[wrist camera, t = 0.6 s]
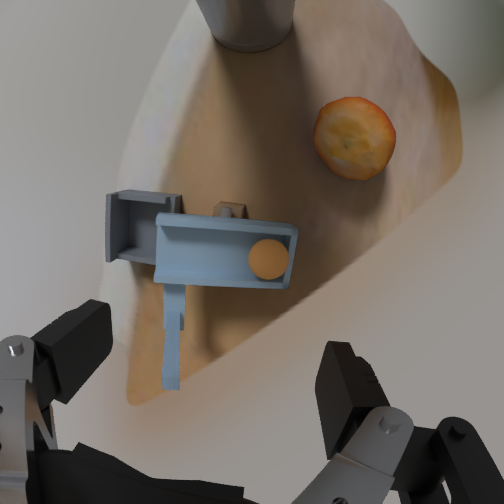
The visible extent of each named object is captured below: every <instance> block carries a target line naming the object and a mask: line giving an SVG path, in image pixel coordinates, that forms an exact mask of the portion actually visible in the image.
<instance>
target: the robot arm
mask: <svg viewBox="0 0 504 504" xmlns="http://www.w3.org/2000/svg"><path fill="white" fill-rule="evenodd" d="M196 1H197V3H198V5H199V7H200V9H201V11H202V13H203V15H204V18H205V20H206V22H207V24H208V26H209V28H210V30H211V32H212V34H213V36H214V37H215V39H216V40H217V41H219V42H220V43H221V44H222V45H224V46H226V47H227V48H230V49H232V50H235V51H241V52H258V51H263V50H266V49H269V48H272V47H273V46H275V45H277V44H279V43H280V42H281V41H282V40H283V39H284V38H285V37H286V36H287V34H288V33H289V31H290V28H291V25H292V18H293V11H294V6H295V0H196ZM112 345H113V335H112V321H111V308H110V305H109V304H108V303H104V302H100V301H96V300H92V299H90V300H88V301H87V302H85V303H84V304H83V305H81V306H80V307H78V308H77V309H73V310H71V311H68V312H66V313H64V314H63V315H61V316H60V317H59V318H58V319H56V320H54V321H53V322H52V323H51V324H49V325H47V326H46V327H45V328H43V329H42V330H41V331H39V332H38V333H36V334H35V335H34V336H32V337H31V338H29V337H26V336H21V335H14V336H10V337H7V338H5V339H3V340H2V341H1V342H0V504H258V503H256V502H254V501H251V500H248V499H245V498H243V494H244V487H239V486H231V485H224V484H218V483H211V482H206V481H201V480H172V479H156V478H151V477H148V476H147V475H145V474H143V473H141V472H139V471H138V470H136V469H134V468H132V467H131V466H129V465H127V464H125V463H124V462H122V461H120V460H119V459H117V458H116V457H114V456H111V455H109V454H106V453H104V452H101V451H98V450H96V449H94V448H91V447H89V446H86V445H84V444H82V443H80V442H78V444H77V445H76V447H75V449H74V450H73V451H69V450H58V446H57V439H56V432H55V425H54V416H53V408H52V405H51V402H52V401H53V400H54V399H55V400H57V401H60V402H62V403H64V404H67V403H68V402H69V401H70V399H71V398H72V397H73V396H74V395H75V394H76V392H77V391H78V390H79V389H80V388H81V387H82V385H83V384H84V383H85V382H86V381H87V379H88V378H89V377H90V376H91V375H92V374H93V372H94V371H95V370H96V369H97V368H98V367H99V365H100V364H101V363H102V362H103V361H104V360H105V359H106V357H107V356H108V355H109V354H110V352H111V349H112ZM378 382H379V381H378V379H377V377H376V376H375V373H374V371H373V369H372V368H371V365H370V364H368V362H366V361H365V360H364V359H363V358H362V357H356V356H355V354H354V352H353V349H352V347H351V345H350V343H348V342H337V341H328V342H327V344H326V347H325V350H324V353H323V357H322V360H321V364H320V368H319V370H318V374H317V377H316V383H315V394H316V399H317V404H318V409H319V415H320V421H321V426H322V432H323V437H324V443H325V449H326V455H327V460H330V461H329V462H328V464H327V465H326V466H325V467H324V469H323V470H322V471H321V472H320V473H319V474H318V475H317V476H316V478H315V479H314V480H313V481H312V482H311V483H310V484H309V485H308V486H307V488H306V489H305V490H304V491H303V492H302V493H301V494H300V495H299V496H298V497H297V498H296V499H295V500H294V501H293V502H292V503H291V504H382V503H383V501H384V499H385V497H386V496H387V494H388V492H389V490H395V491H398V493H399V497H400V501H401V504H449V501H448V498H447V496H446V493H445V490H444V487H443V485H442V482H443V481H444V480H445V481H446V483H447V486H448V488H449V491H450V494H451V504H504V480H503V478H502V476H501V474H500V472H499V470H498V468H497V466H496V465H495V463H494V461H493V459H492V457H491V456H490V454H489V452H488V451H487V448H486V447H485V445H484V443H483V442H482V440H481V438H480V436H479V435H478V433H477V431H476V430H475V428H474V427H473V426H472V425H471V424H470V423H469V422H468V421H466V420H464V419H461V418H458V417H448V418H445V419H443V420H442V421H441V422H440V424H439V425H438V427H437V428H436V429H430V428H423V427H416V426H414V425H413V421H412V419H411V418H410V417H409V416H408V415H407V414H406V413H405V412H403V411H402V410H400V409H397V408H394V407H391V406H390V404H389V402H388V400H387V398H386V396H385V394H384V392H383V389H382V387H381V385H380V383H378Z"/></svg>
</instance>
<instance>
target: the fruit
mask: <svg viewBox="0 0 504 504" xmlns="http://www.w3.org/2000/svg"><path fill="white" fill-rule="evenodd" d="M313 143H314V145H315V147H316V150H317V152H318V155H319V156H320V157H321V158H322V159H323V160H324V162H325V163H326V165H327V166H328V168H329V169H330V170H331V171H332V172H334V173H335V174H337V175H339V176H341V177H344V178H346V179H355V180H361V181H363V180H367V179H369V178H371V177H372V176H374V175H376V174H378V173H380V172H381V171H382V170H383V169H384V168H385V166H386V165H387V164H388V162H389V160H390V158H391V156H392V154H393V152H394V148H395V143H396V132H395V129H394V127H393V125H392V123H391V121H390V119H389V118H388V116H387V115H386V113H385V112H384V111H383V110H382V109H381V108H380V107H379V106H377V105H376V104H374V103H373V102H371V101H369V100H367V99H364V98H361V97H344V98H342V99H338V100H336V101H333V102H330V103H328V104H327V105H325V107H323V108H321V110H320V112H319V115H318V118H317V121H316V124H315V128H314V141H313Z"/></svg>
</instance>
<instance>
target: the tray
mask: <svg viewBox="0 0 504 504" xmlns="http://www.w3.org/2000/svg"><path fill="white" fill-rule="evenodd" d="M180 205H181V195H178V194H168V193H158V192H148V191H137V190H124V191H119V192H115V193H110V194H107V195H106V219H105V252H106V262H112V261H113V260H115V259H123V260H129V261H134V262H140V263H146V264H152V265H156V244H157V225H156V217H157V215H158V213H159V212H163V213H177V214H180Z"/></svg>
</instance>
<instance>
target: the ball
mask: <svg viewBox="0 0 504 504" xmlns="http://www.w3.org/2000/svg"><path fill="white" fill-rule="evenodd" d="M248 263H249V266H250V269H251V270H252V272H253V273H254V274H255V275H256V276H258V277H260V278H262V279H266V280H271V279H275V278H278V277H279V276H281V275H282V274H283V273H284V272H285V271H286V269H287V267H288V264H289V254H288V251H287V249H286V248H285V246H284V245H283V244H282V243H280V242H279V241H277V240H274V239H263V240H260V241H258V242H257V243H256V244H254V245H253V247H252V248H251V250H250V252H249V256H248Z"/></svg>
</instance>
